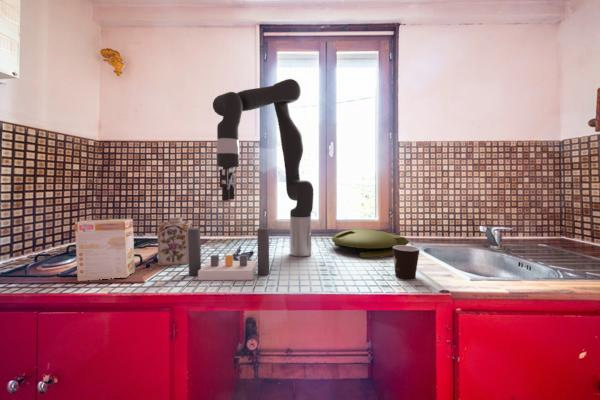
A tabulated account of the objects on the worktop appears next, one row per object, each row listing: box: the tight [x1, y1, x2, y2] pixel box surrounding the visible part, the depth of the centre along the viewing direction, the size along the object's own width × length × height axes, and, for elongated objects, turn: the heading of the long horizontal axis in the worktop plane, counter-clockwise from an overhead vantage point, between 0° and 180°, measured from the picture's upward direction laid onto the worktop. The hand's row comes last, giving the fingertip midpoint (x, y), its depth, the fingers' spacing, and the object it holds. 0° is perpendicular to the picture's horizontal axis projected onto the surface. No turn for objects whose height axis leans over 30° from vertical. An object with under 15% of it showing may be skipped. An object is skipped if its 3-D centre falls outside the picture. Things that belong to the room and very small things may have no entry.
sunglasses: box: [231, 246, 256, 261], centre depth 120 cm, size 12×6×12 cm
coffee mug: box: [392, 245, 420, 281], centre depth 98 cm, size 12×9×10 cm
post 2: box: [256, 227, 270, 277], centre depth 100 cm, size 4×4×16 cm
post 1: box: [188, 227, 202, 277], centre depth 99 cm, size 4×4×16 cm
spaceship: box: [331, 228, 410, 260], centre depth 137 cm, size 35×31×10 cm
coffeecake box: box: [74, 218, 136, 282], centre depth 96 cm, size 15×7×20 cm, turn 100°
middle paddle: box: [224, 254, 234, 266], centre depth 100 cm, size 2×2×4 cm
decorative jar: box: [156, 216, 195, 266], centre depth 116 cm, size 12×12×18 cm
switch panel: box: [197, 254, 258, 281], centre depth 100 cm, size 18×12×7 cm, turn 92°
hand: (228, 200), depth 98 cm, fingers open, 8 cm apart
